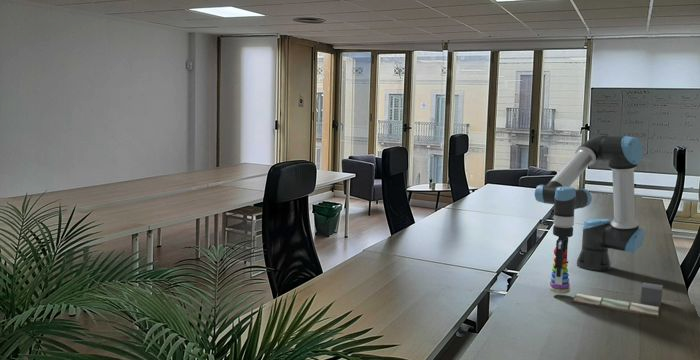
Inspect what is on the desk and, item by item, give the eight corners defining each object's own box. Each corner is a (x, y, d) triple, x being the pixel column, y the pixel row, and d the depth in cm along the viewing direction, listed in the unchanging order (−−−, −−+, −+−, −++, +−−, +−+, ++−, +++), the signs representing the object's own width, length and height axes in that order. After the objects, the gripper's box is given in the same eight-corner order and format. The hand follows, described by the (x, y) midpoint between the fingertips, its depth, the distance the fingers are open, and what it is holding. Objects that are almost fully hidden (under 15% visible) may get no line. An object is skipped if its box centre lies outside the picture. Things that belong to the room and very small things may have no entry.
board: (576, 294, 236) (576, 292, 236) (659, 308, 222) (659, 306, 222) (572, 302, 227) (572, 300, 227) (658, 317, 213) (658, 315, 212)
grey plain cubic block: (641, 299, 233) (642, 282, 232) (661, 302, 230) (662, 285, 229) (640, 304, 227) (641, 287, 226) (660, 307, 224) (662, 290, 223)
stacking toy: (565, 287, 239) (567, 243, 236) (573, 294, 231) (576, 248, 228) (546, 288, 238) (548, 243, 236) (553, 294, 230) (556, 248, 228)
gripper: (557, 220, 241) (554, 273, 244) (548, 229, 224) (545, 286, 227) (576, 222, 237) (573, 276, 241) (569, 231, 220) (565, 290, 224)
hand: (560, 281), depth 234 cm, fingers closed on stacking toy, 7 cm apart
